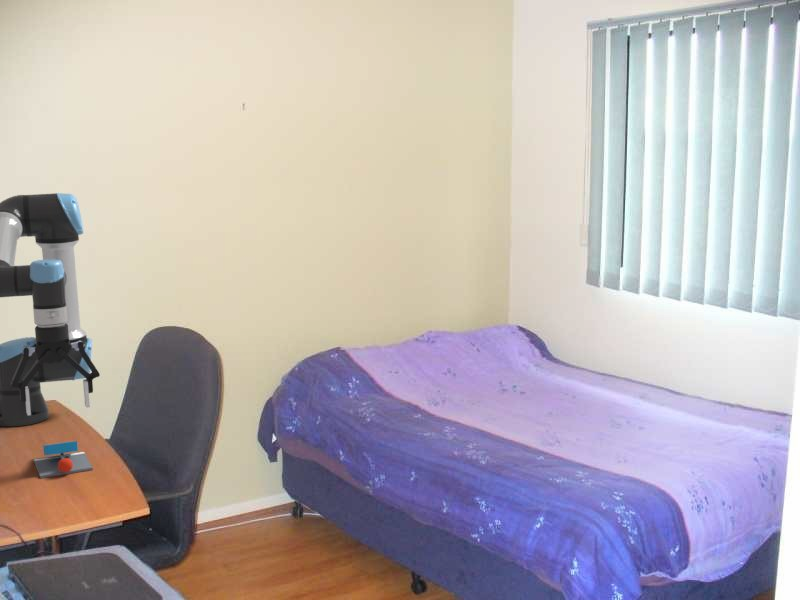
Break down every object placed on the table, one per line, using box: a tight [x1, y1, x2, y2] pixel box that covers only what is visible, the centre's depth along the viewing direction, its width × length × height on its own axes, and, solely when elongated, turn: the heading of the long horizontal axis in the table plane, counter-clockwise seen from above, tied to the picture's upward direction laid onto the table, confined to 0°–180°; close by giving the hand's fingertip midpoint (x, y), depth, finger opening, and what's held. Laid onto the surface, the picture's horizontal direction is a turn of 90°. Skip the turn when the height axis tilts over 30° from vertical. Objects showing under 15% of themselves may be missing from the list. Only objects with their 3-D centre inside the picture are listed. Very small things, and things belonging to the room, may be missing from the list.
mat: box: [33, 451, 94, 479], centre depth 241 cm, size 14×12×1 cm
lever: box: [42, 440, 79, 472], centre depth 241 cm, size 7×7×18 cm
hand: (58, 410), depth 239 cm, fingers open, 13 cm apart
